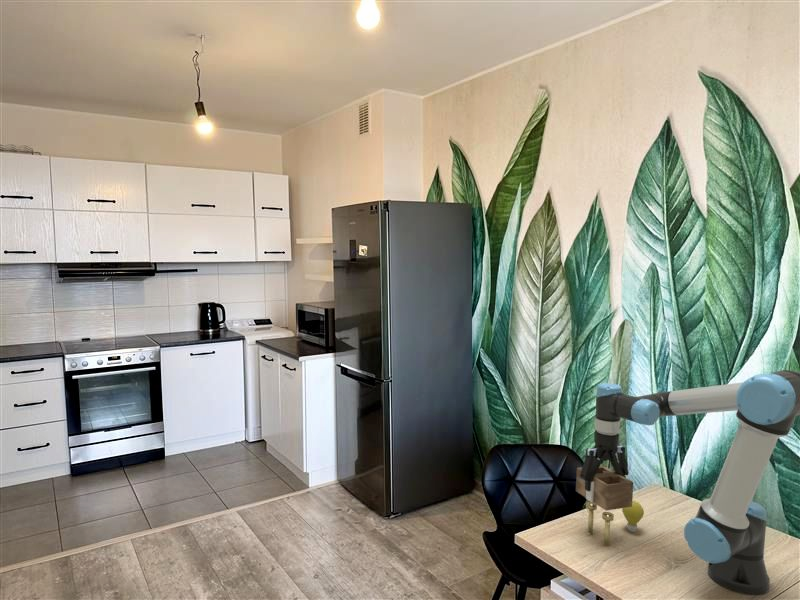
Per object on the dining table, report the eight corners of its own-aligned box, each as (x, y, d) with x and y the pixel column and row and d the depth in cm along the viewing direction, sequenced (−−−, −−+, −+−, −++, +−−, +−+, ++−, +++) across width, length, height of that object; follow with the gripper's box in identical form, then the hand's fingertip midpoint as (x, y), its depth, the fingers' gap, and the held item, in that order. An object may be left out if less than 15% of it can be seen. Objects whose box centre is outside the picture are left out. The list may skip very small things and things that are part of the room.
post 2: (614, 546, 176) (616, 515, 176) (605, 548, 175) (607, 517, 175) (607, 541, 180) (608, 511, 179) (598, 543, 178) (600, 512, 178)
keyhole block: (631, 506, 176) (633, 482, 175) (606, 510, 172) (607, 485, 172) (600, 487, 190) (601, 464, 189) (575, 491, 186) (576, 467, 186)
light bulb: (639, 537, 183) (641, 507, 182) (618, 531, 187) (620, 502, 186) (645, 529, 188) (646, 501, 187) (624, 523, 192) (625, 495, 192)
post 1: (597, 534, 184) (599, 505, 183) (589, 536, 183) (590, 506, 182) (591, 530, 187) (592, 501, 186) (582, 531, 186) (584, 502, 185)
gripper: (626, 425, 186) (623, 489, 188) (570, 430, 179) (566, 497, 181) (643, 432, 179) (639, 498, 181) (585, 438, 172) (581, 507, 174)
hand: (603, 498), depth 181 cm, fingers closed on keyhole block, 10 cm apart
